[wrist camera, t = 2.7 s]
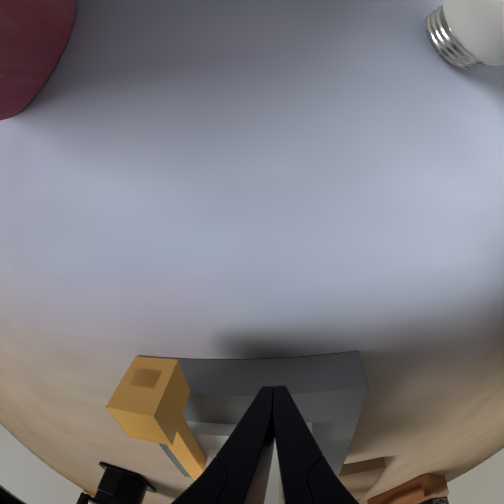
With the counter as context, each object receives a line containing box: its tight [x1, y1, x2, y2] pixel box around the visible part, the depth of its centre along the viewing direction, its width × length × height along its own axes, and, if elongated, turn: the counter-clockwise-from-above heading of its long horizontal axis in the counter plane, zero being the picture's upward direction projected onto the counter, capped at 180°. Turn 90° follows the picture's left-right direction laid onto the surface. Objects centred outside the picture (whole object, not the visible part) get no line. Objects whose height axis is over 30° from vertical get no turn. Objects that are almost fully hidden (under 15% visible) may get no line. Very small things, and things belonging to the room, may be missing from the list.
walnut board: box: [281, 457, 386, 504], centre depth 19 cm, size 12×12×1 cm
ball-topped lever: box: [106, 356, 207, 481], centre depth 11 cm, size 14×2×3 cm, turn 6°
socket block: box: [138, 351, 368, 477], centre depth 14 cm, size 12×12×2 cm
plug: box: [186, 421, 312, 504], centre depth 11 cm, size 7×7×10 cm
